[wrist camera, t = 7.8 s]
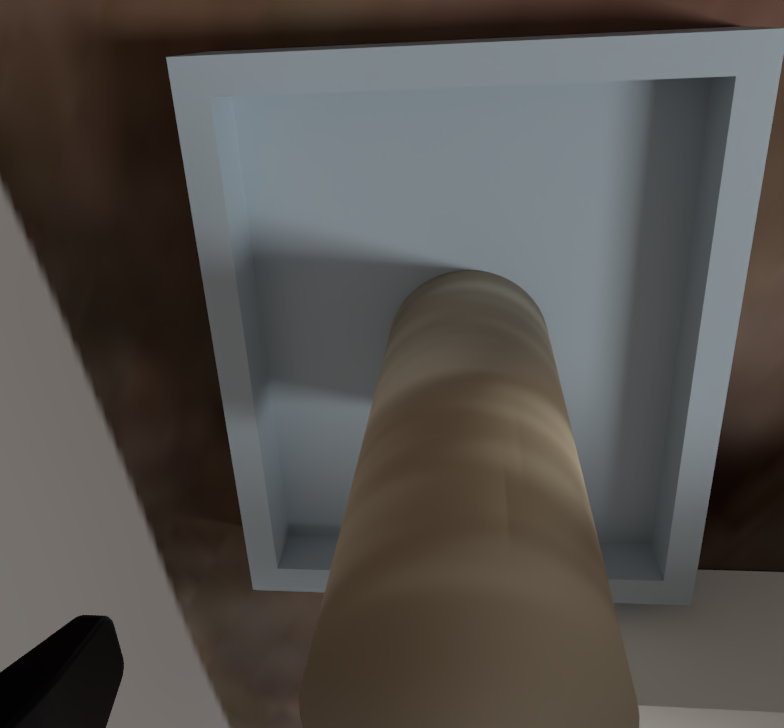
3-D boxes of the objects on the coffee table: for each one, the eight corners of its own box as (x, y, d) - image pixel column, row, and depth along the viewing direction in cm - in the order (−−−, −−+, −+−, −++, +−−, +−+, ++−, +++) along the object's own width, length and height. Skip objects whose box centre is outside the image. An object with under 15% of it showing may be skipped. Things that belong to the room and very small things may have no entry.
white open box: (826, 573, 22) (919, 719, 17) (782, 740, 25) (851, 901, 20) (577, 565, 22) (603, 703, 18) (565, 728, 26) (584, 881, 21)
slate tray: (743, 26, 16) (788, 27, 14) (668, 544, 22) (691, 605, 20) (206, 51, 17) (166, 56, 15) (274, 534, 23) (253, 589, 21)
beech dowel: (552, 269, 18) (657, 600, 8) (544, 415, 19) (623, 839, 9) (385, 271, 18) (281, 587, 8) (393, 414, 20) (314, 818, 10)
